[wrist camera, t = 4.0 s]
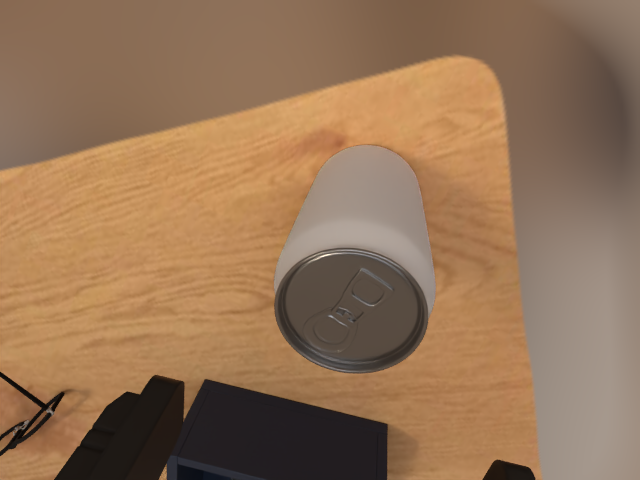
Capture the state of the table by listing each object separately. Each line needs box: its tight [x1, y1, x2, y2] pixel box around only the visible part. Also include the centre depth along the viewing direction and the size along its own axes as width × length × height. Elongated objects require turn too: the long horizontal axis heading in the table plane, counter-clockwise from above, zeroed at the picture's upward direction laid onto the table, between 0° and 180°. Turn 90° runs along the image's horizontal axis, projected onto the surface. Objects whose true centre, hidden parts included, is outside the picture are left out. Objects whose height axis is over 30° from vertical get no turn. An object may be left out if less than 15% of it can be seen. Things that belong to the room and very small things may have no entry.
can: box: [274, 145, 436, 373], centre depth 21 cm, size 6×6×12 cm
